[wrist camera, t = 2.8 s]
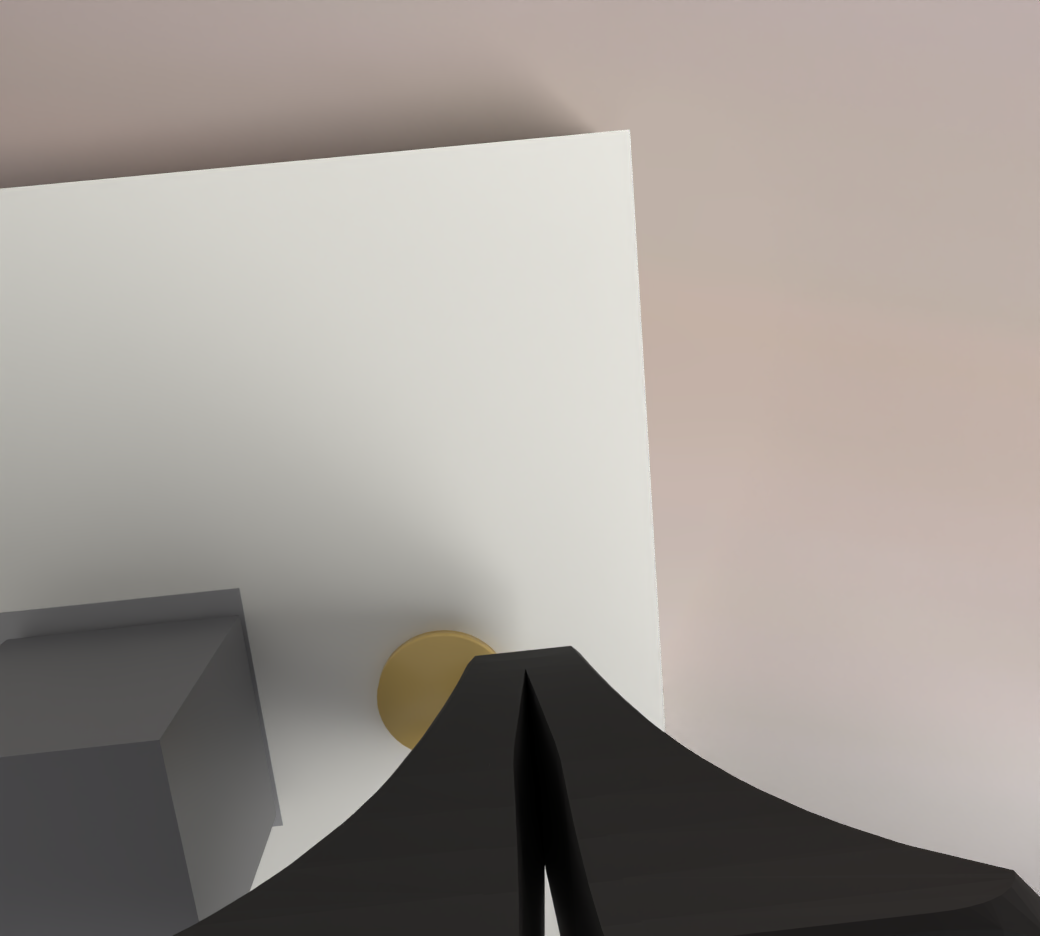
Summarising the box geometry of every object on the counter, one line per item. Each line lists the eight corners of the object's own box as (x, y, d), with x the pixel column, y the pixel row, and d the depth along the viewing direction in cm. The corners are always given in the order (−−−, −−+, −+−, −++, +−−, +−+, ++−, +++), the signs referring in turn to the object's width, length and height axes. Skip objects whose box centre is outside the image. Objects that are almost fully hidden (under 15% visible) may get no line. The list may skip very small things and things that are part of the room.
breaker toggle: (239, 614, 12) (159, 739, 9) (276, 814, 12) (215, 992, 9) (6, 639, 11) (-154, 773, 9) (58, 839, 12) (-72, 1024, 9)
